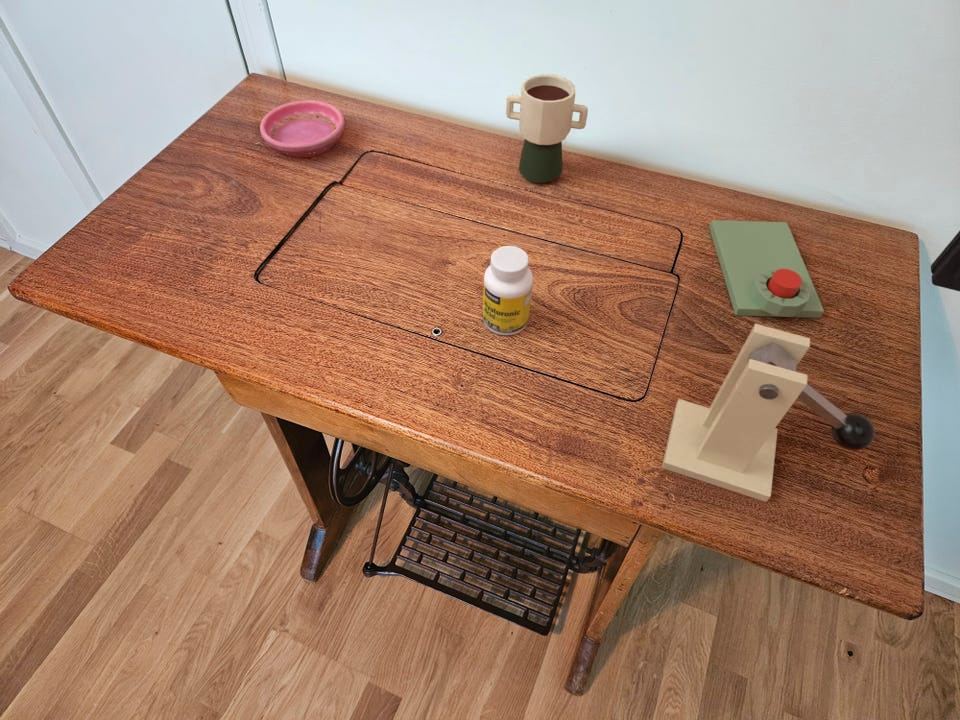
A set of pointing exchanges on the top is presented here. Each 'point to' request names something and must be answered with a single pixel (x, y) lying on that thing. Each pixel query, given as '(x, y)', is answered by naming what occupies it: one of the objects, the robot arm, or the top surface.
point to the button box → (762, 268)
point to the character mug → (545, 124)
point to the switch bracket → (738, 420)
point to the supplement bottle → (507, 291)
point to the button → (784, 283)
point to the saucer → (303, 128)
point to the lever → (822, 403)
